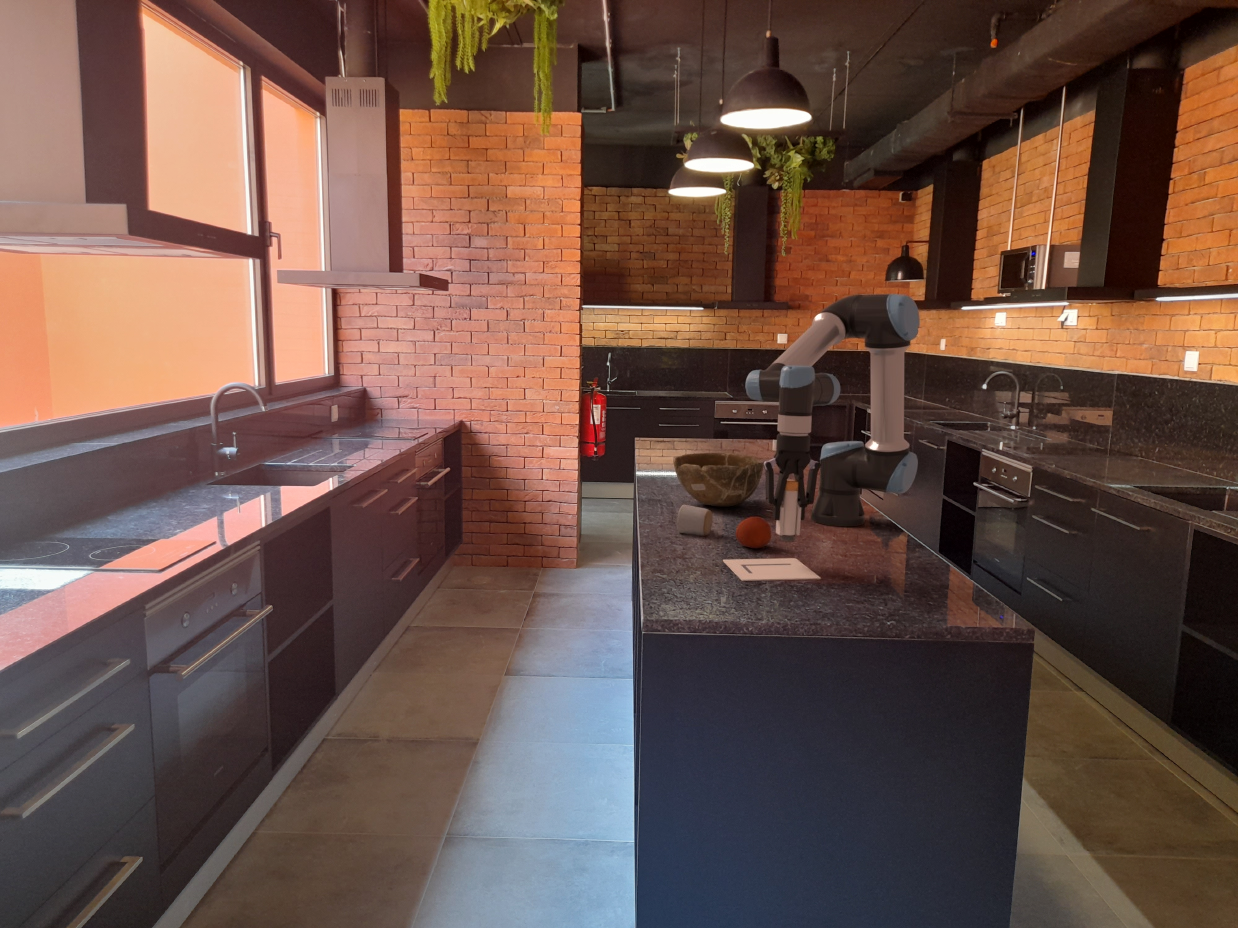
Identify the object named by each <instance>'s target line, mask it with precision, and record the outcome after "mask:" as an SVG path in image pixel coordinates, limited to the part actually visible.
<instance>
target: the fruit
mask: <svg viewBox="0 0 1238 928" xmlns="http://www.w3.org/2000/svg"><path fill="white" fill-rule="evenodd" d="M771 530H772V528H771V526H770V524H769V522H768V521H766V520H765V519H763V518H762V517H761V516H756V515H755V516H750V517H747V518H746V519H745V518H744V520H742V521H741V522H739V524H738V525H737V527H736V531H735V537H736V539H737V541H738V542H739V543H740V544H741V545H742V546H743V547H746V548H751V549H761V548H763V547H765V546H767V545H768V543H770V541H771V539H772V531H771Z"/></svg>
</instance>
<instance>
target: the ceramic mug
mask: <svg viewBox="0 0 1238 928" xmlns="http://www.w3.org/2000/svg"><path fill="white" fill-rule="evenodd" d="M713 517H714V516H713V513H712V511H711V510H709V508H704V507H697V506H694V505H688V504H682V505H681V506H680V508H679V510H678V514H677V521H676V528H677V532H678V533H680V534H687V535H696V536H707V535H709V534H710V533H711V530H712V528H713V521H714V520H713Z"/></svg>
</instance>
